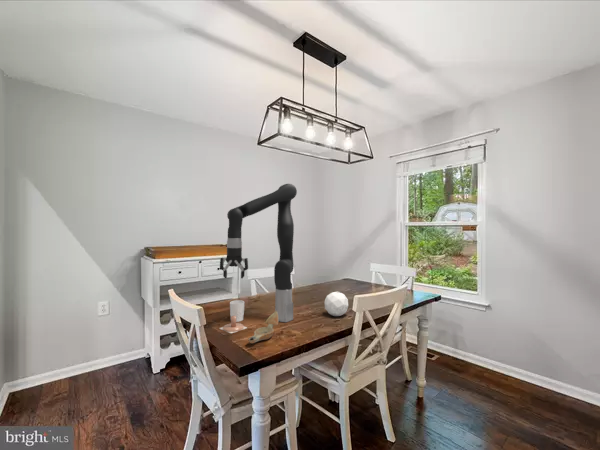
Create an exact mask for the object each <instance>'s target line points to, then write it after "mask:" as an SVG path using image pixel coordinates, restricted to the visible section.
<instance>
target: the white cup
mask: <svg viewBox="0 0 600 450" xmlns="http://www.w3.org/2000/svg"><path fill="white" fill-rule="evenodd" d="M244 313H245V301H244V300H241V299H240V300H239V299H237V300H232V301H230V302H229V314H230V317H231V316H236V323H240V322H242V321H244Z"/></svg>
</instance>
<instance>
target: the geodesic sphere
mask: <svg viewBox="0 0 600 450" xmlns="http://www.w3.org/2000/svg"><path fill="white" fill-rule="evenodd" d="M323 302H324V309H325V311H327V313H328V314H329V315H331V316H333V317H340V316H343V315H344V314H346V313H347V310H348V308H349V299H348V298H347V296H346V295H345V293H342V291H334V292H333V291H331V292H330V293H329V294H327V295H326V297H325V299H324V301H323Z"/></svg>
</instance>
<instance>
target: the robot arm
mask: <svg viewBox="0 0 600 450" xmlns="http://www.w3.org/2000/svg"><path fill="white" fill-rule="evenodd" d="M297 193H298V192H297V188H296V186H295V185H294V184H292V183H285V184H282V185H280V186H279V187H278V189H276V190H275V191H273V192H271V193H268V194H266V195H262V196H260V197H258V198H255V199H252V200H250V201H248V202H245V203H244V204H241V205H239V206H236V207H234V208H231V209H230V210H228V211H227V216H226V217H227V219H228V227H227V240H226V257H221V258H220V259H219V270H221V271H223V273H222V274H223V278H224V279H227V278H228V268H229V267H238V268H239V269H240V279H243V278H244V277H245V271H247V270H249V259H248V258H247V257H245V258H242V257H243V255H242V254H243V253H242V250H243V247H242V246H243V242H242V226H243V219H245V218H247V217H250V216H253V215H255V214H257V213H260V212H261V211H264V210H265V209H268V208H270V207H272V206H274V205H276V204H277V208H278V209H277V227H276V228H277V229H276V230H277V233H276V235H277V242H278V247H279V260H278V261H277V262H276V263H275V265H274V269H273V271H274V272H273V273H274V285H275V302H274V303H275V306H274V307H275V309H274V312H275V311H277V313H278V323H279V322H281V323H288V322H291V321H293V320H294V302H293V283H292V280H291V279H292V277H291V275H292V273H293V271H294V268H295V267H294V257H293V256H294V255H293V254H294V253H293V248H294V233H295V232H294V231H295V230H294V229H295V228H294V227H295V225H294V219H293V216H292V211H291V206H292V205H291V204H292V200H293V199H294V198H296V196H297ZM225 262H226V264H225ZM242 262H243V263H244V266H243V264H242ZM224 264H225V266H224Z"/></svg>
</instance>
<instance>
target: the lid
mask: <svg viewBox="0 0 600 450" xmlns="http://www.w3.org/2000/svg"><path fill="white" fill-rule="evenodd" d="M244 325H245V324H243V323H241V322H236V316H230V323H228V324H225V325H223V326H222V327H223V330H222V331H224V332H226V331H228V332H227V333H229V332H234V333H236V332H235V331H237V332H240V331H242V329H243V328H244ZM243 330H244V329H243Z"/></svg>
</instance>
